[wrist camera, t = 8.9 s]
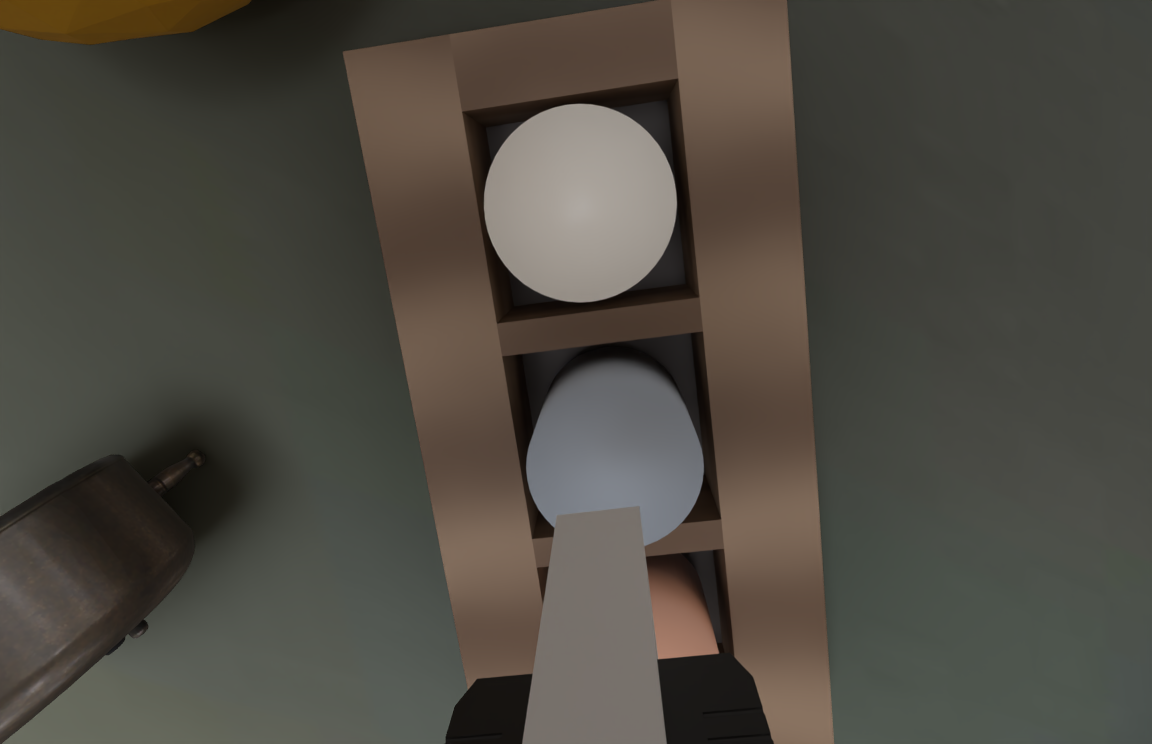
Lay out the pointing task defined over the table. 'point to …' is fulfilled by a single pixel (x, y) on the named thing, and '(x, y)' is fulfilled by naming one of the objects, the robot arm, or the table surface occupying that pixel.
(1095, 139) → the table surface
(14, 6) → the apple
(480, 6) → the table surface
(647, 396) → the blue-grey rounded piece
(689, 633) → the pink rounded cylinder
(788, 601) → the key block
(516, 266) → the ivory key
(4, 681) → the alarm clock
